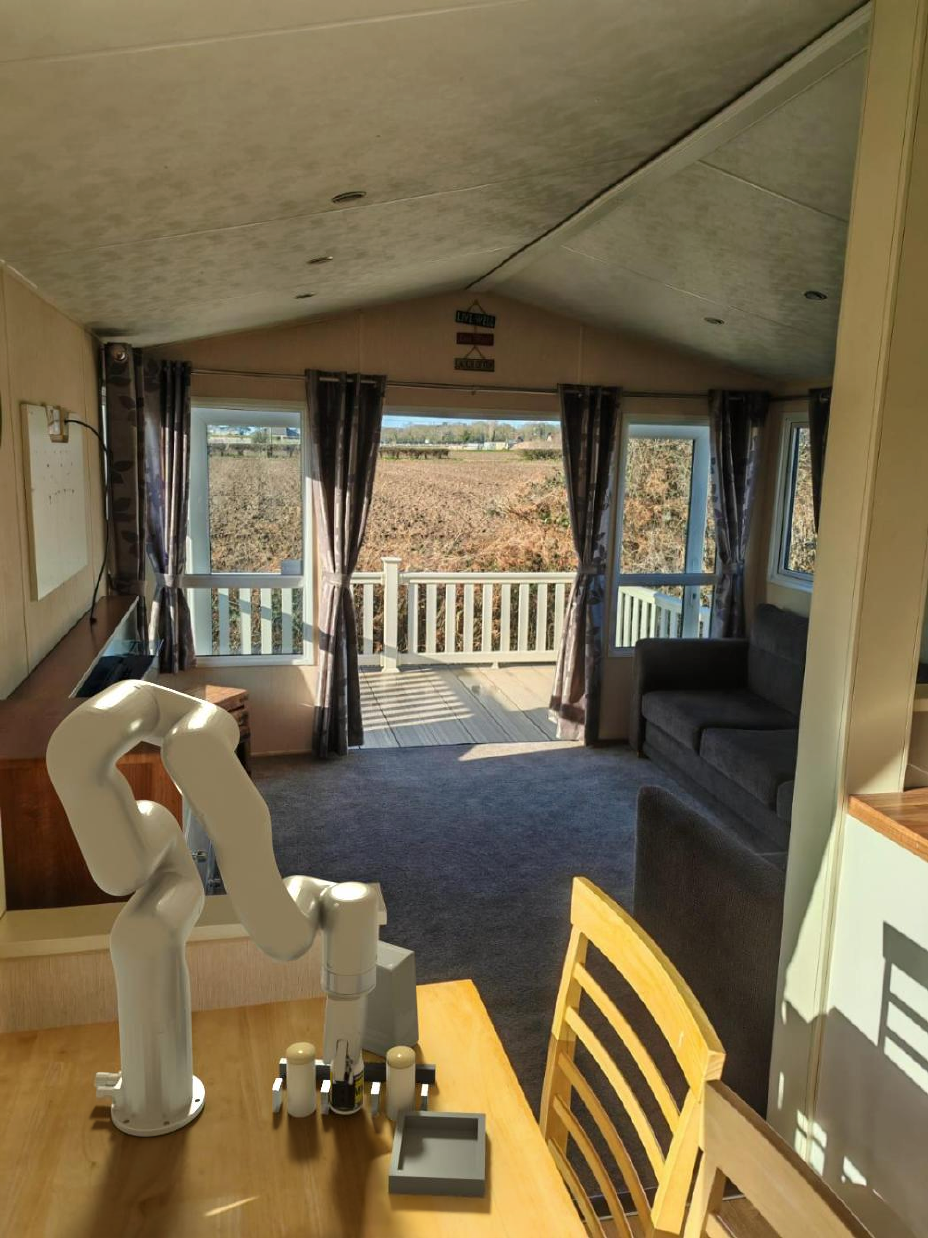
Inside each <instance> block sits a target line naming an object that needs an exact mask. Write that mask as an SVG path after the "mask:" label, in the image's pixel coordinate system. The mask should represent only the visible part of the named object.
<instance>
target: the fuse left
mask: <svg viewBox="0 0 928 1238" xmlns="http://www.w3.org/2000/svg"><path fill="white" fill-rule="evenodd" d="M285 1052H286V1053H285V1055H286V1066H287V1079H286V1110H287V1113H288V1114H289V1115H290V1116H291V1117H293V1118H304V1117H308V1116H310V1115H311V1114H313V1113H314V1112H315V1110H316V1108H317V1100H316V1099H317V1098H316V1097H317V1095H316V1093H317V1091H316V1090H317V1087H316V1084H317V1082H316V1081H317V1080H316V1070H315V1060H316V1047H315V1046H314V1045H313V1044H312V1043H309V1042H306V1041H303V1042H301V1041H300V1042H296V1043H293V1044H291V1045H290V1046H288V1047H287V1049H286V1051H285Z"/></svg>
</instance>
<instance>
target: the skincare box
mask: <svg viewBox="0 0 928 1238" xmlns="http://www.w3.org/2000/svg"><path fill="white" fill-rule="evenodd" d="M415 959H416V958H415V951H414V950H411V949H407V948H404V947H401V946H398V945H394V944H391V943H388V942H385V941H382V940H379V939H377V973H376V986H375V988H374V989H373V990H372V991H371V992H370V993H368V1008H367V1021H366V1029H365V1035H364V1039H363V1044H362V1048H361V1049H362V1050H365V1051H367V1052H370V1053H373V1054H376V1055H377V1056H380V1057H383V1058H385V1059H387V1052H388V1051H389V1050H390V1049H392V1048H394V1047H397V1046H406V1047H409V1048H411V1049H412V1048H413V1047H414V1045H416V1044H418V1042H419V1040H420V1034H419V1029H420V1028H419V1017H418V1016H419V1015H418V1014H419V1013H418V1012H419V1011H418V998H417V997H418V995H417V978H416V977H417V976H416V975H417V974H416V961H415Z"/></svg>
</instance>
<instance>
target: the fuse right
mask: <svg viewBox="0 0 928 1238" xmlns="http://www.w3.org/2000/svg"><path fill="white" fill-rule="evenodd" d="M385 1059H386V1061H385V1062H386V1083H385V1087H386V1088H385V1093H386V1094H385V1114H386V1117H387V1118H388V1119H389V1120H391V1121H394V1122H397V1116H398V1110H410V1111H416V1107H415V1106H416V1104H415V1101H416V1099H415V1098H416V1095H415V1094H416V1084H415V1064H416V1052H415V1050H413V1048H412V1047H411V1048H409V1047H406V1046H397V1047H394V1048H392V1049H390V1050H389V1051H388V1052H387V1058H385Z"/></svg>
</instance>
